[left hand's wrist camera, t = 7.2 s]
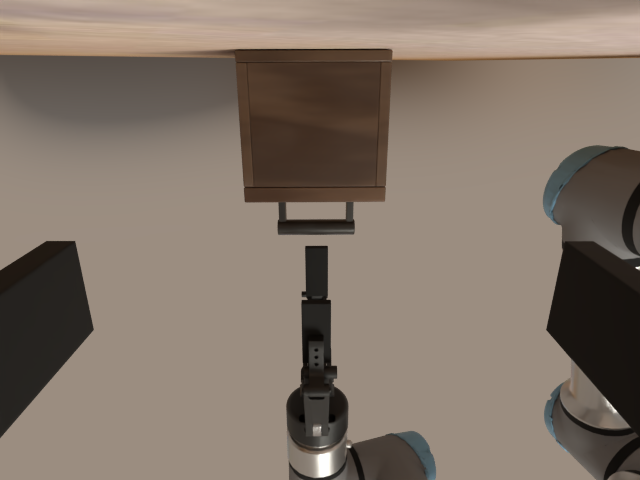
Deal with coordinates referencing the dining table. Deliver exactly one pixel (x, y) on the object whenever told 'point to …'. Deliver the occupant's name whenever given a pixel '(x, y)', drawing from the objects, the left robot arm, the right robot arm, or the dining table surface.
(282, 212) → the lid
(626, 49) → the dining table surface
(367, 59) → the chest
